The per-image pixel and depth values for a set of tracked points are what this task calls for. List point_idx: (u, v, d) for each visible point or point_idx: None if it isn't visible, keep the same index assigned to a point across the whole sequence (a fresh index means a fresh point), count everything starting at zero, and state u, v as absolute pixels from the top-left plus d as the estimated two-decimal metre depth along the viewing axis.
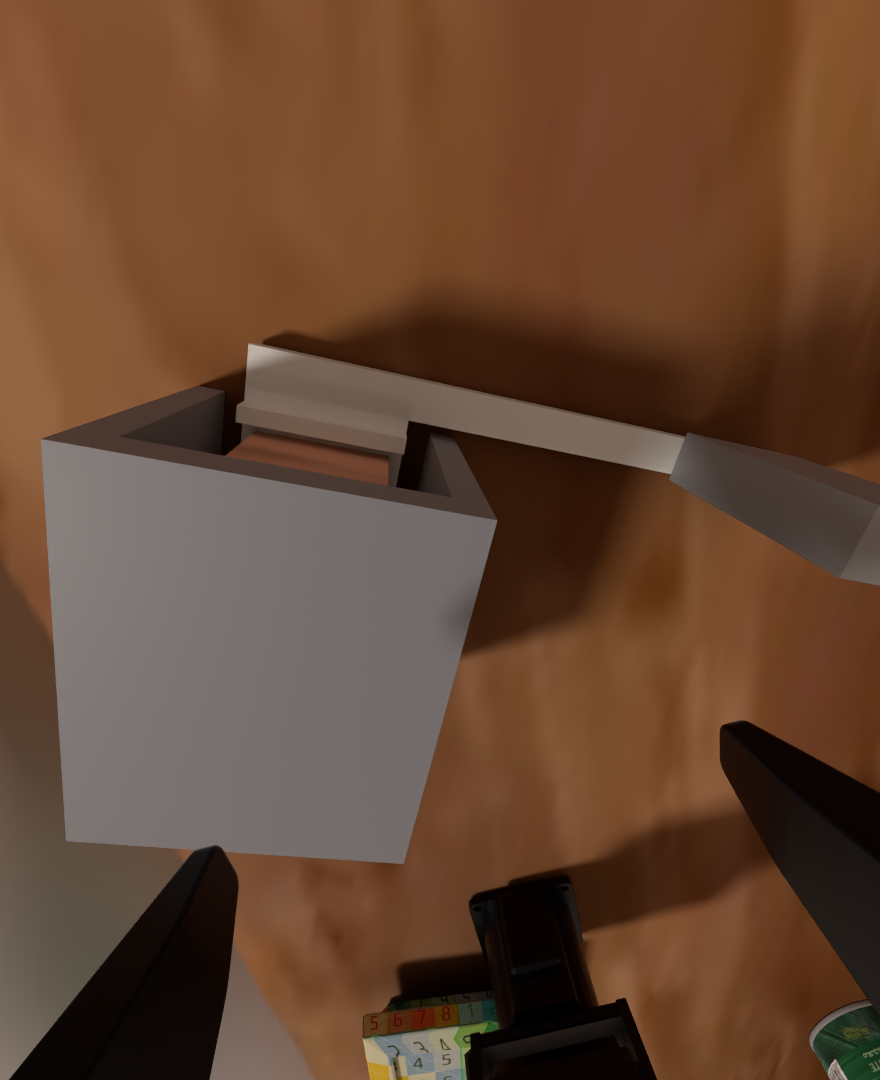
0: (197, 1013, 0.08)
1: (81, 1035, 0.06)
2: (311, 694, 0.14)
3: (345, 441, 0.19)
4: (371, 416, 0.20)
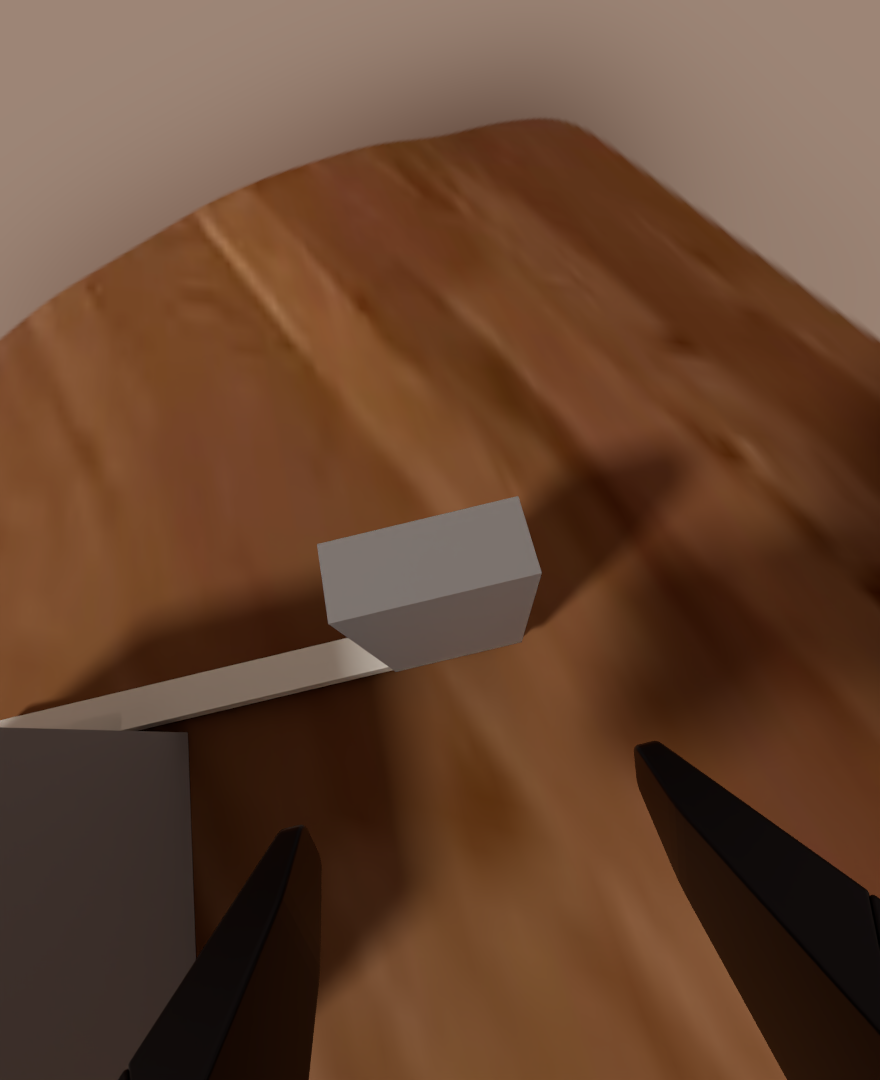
0: (299, 989, 0.08)
1: (200, 1006, 0.06)
2: None
3: None
4: None
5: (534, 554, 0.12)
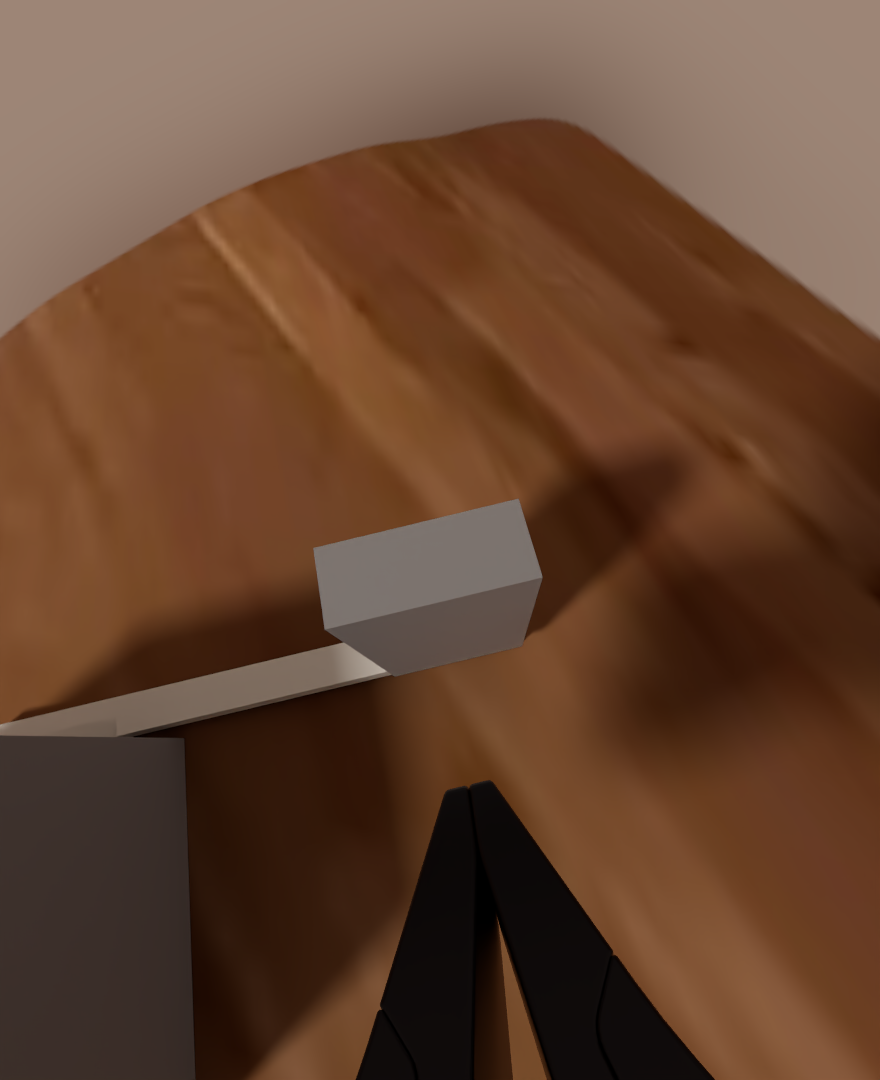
0: (494, 944, 0.08)
1: (430, 954, 0.06)
2: None
3: None
4: None
5: (535, 558, 0.12)
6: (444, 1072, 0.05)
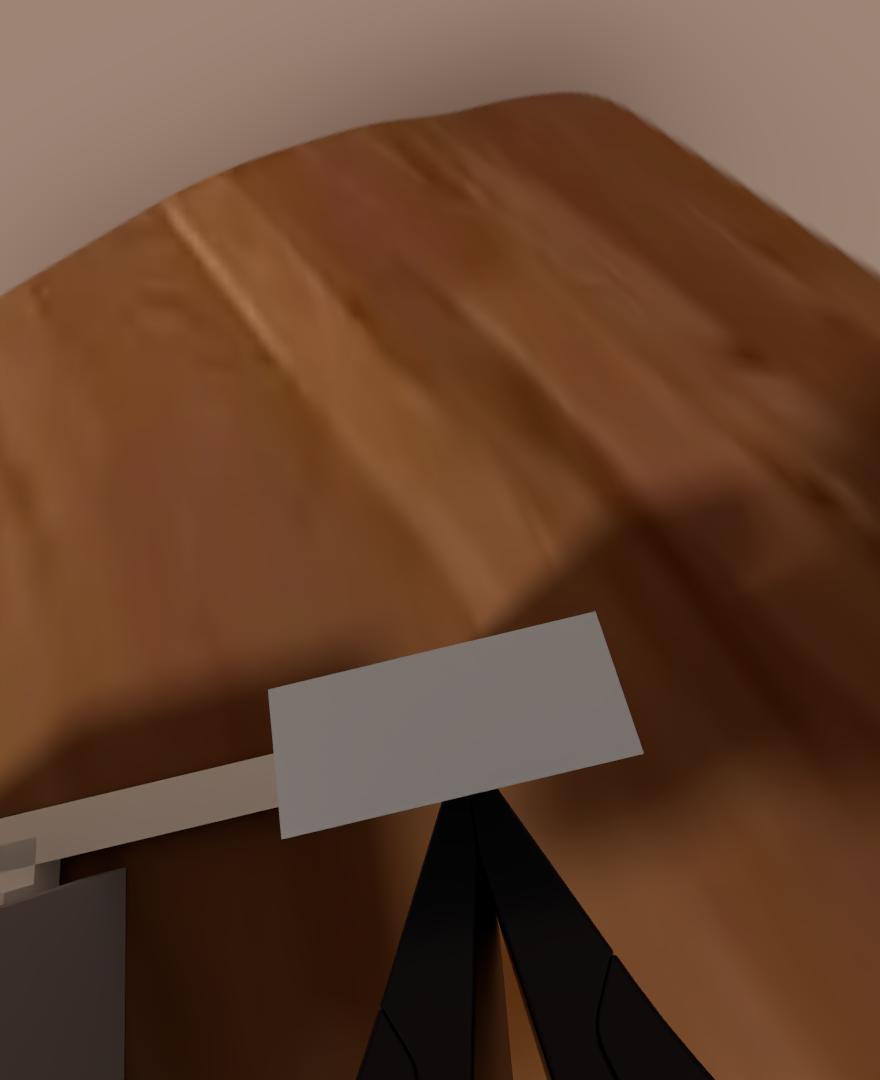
0: (494, 944, 0.08)
1: (430, 952, 0.06)
2: None
3: None
4: None
5: (629, 718, 0.07)
6: (444, 1072, 0.05)
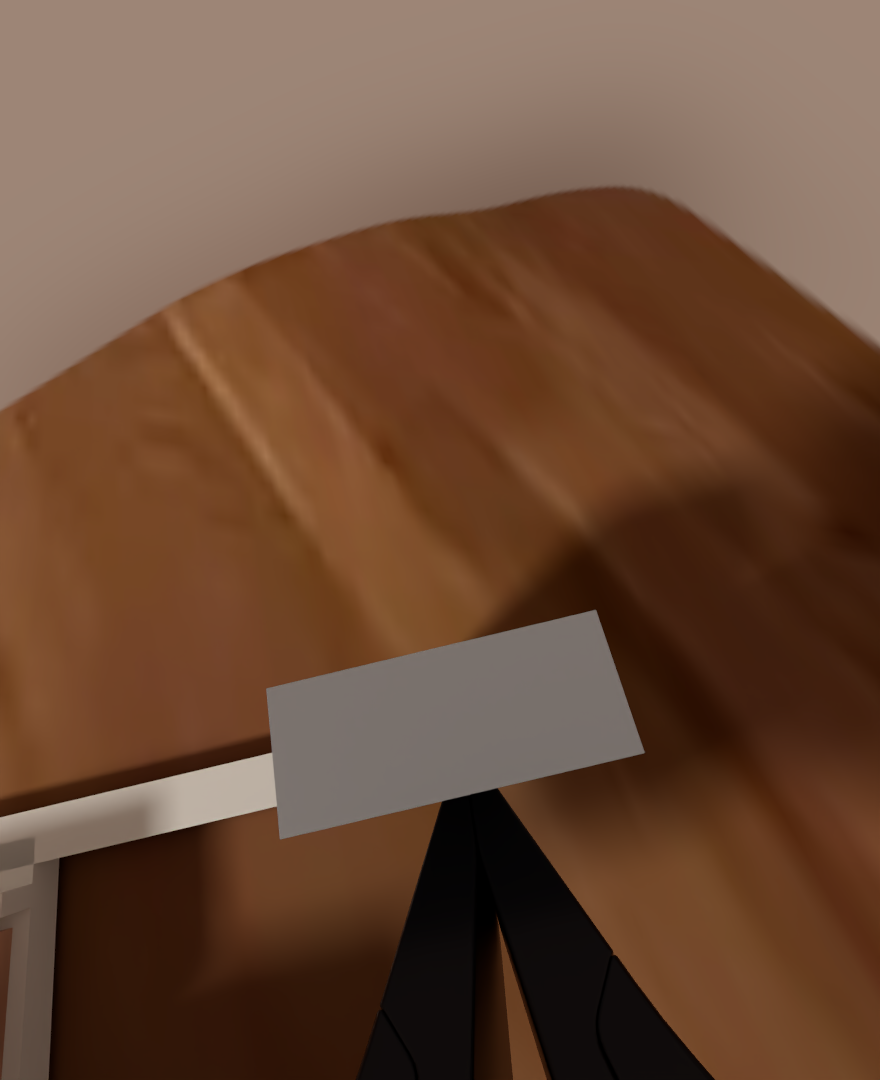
0: (494, 943, 0.08)
1: (430, 952, 0.06)
2: None
3: None
4: None
5: (630, 717, 0.07)
6: (444, 1071, 0.05)
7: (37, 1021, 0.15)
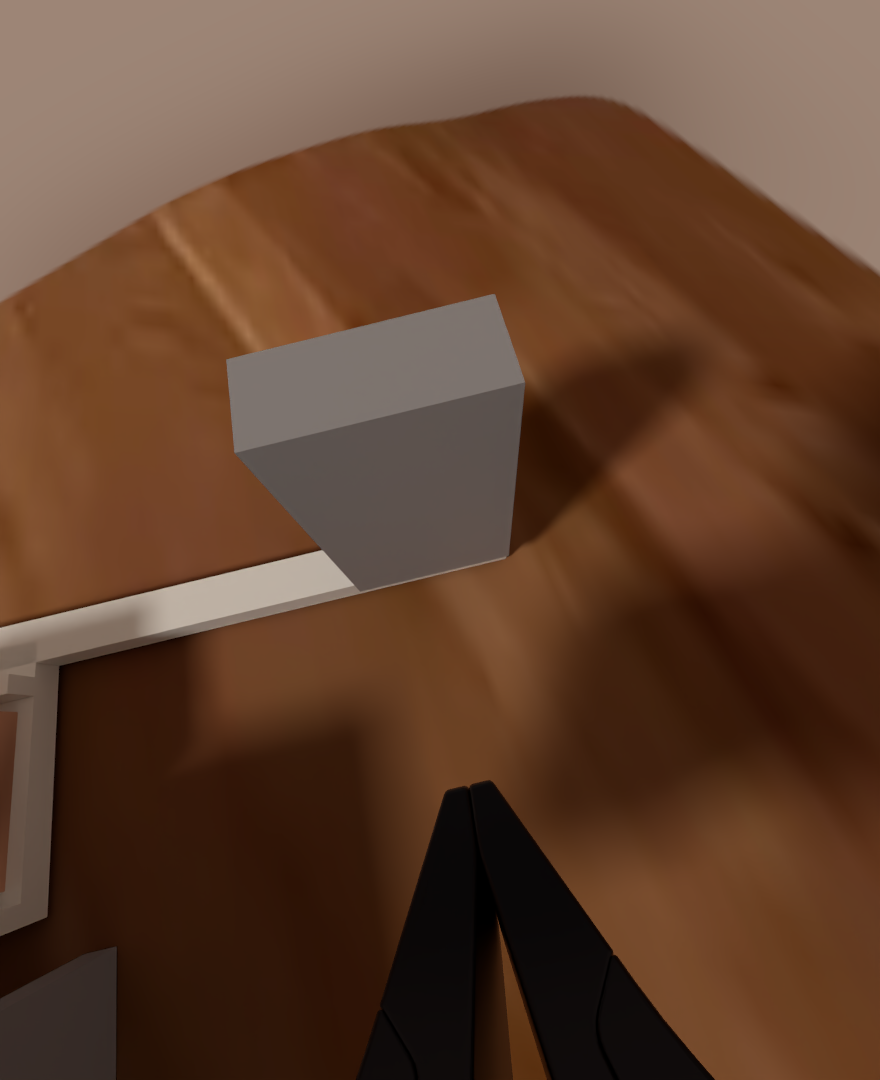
0: (494, 944, 0.08)
1: (430, 954, 0.06)
2: None
3: None
4: None
5: (515, 360, 0.09)
6: (444, 1072, 0.05)
7: (40, 789, 0.16)
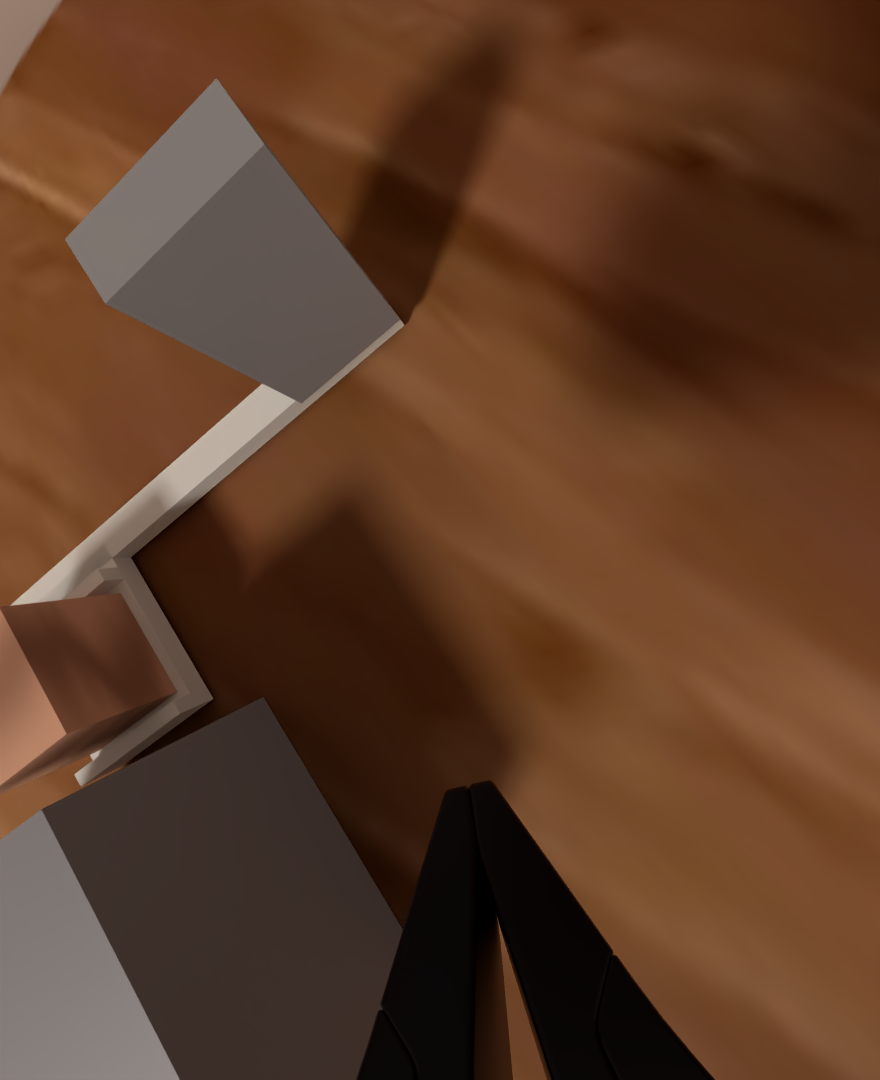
0: (494, 944, 0.08)
1: (430, 953, 0.06)
2: None
3: None
4: None
5: (251, 129, 0.11)
6: (444, 1072, 0.05)
7: (164, 631, 0.23)
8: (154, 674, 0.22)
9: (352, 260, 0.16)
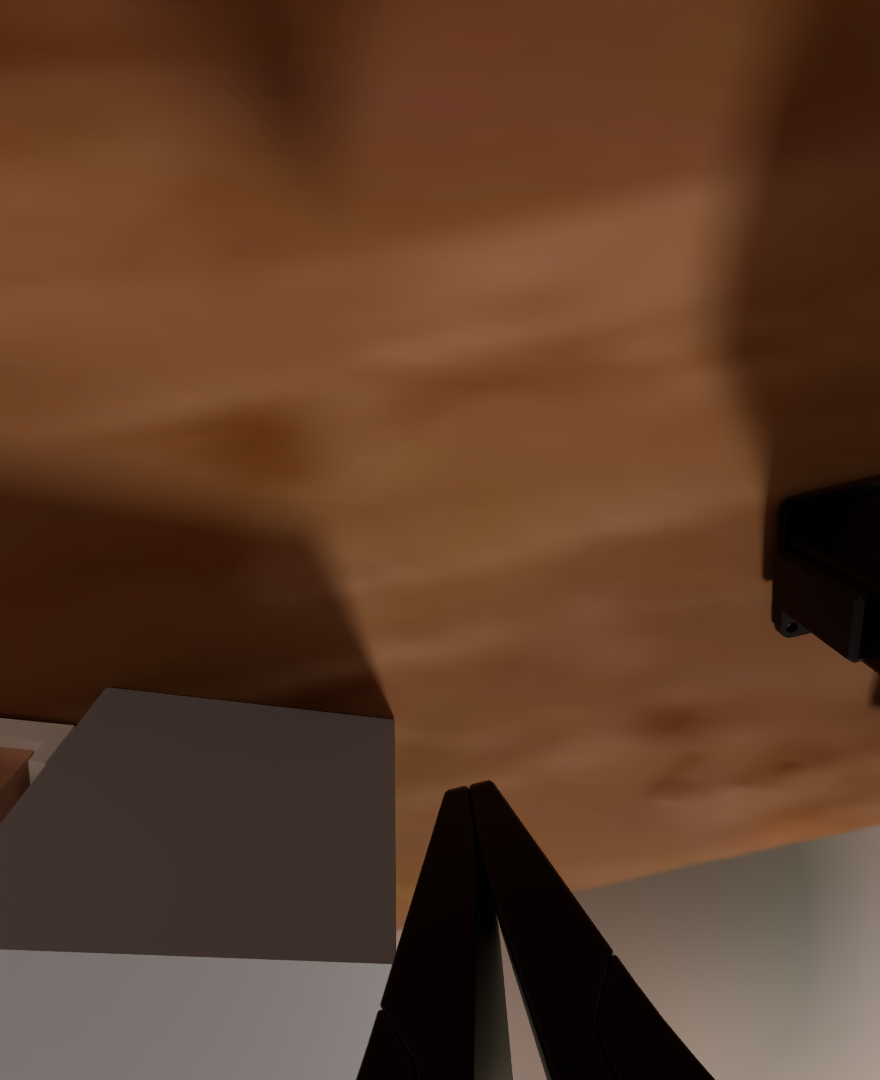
0: (494, 944, 0.08)
1: (430, 952, 0.06)
2: (155, 1036, 0.15)
3: None
4: None
5: None
6: (444, 1072, 0.05)
7: None
8: None
9: None
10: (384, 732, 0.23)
